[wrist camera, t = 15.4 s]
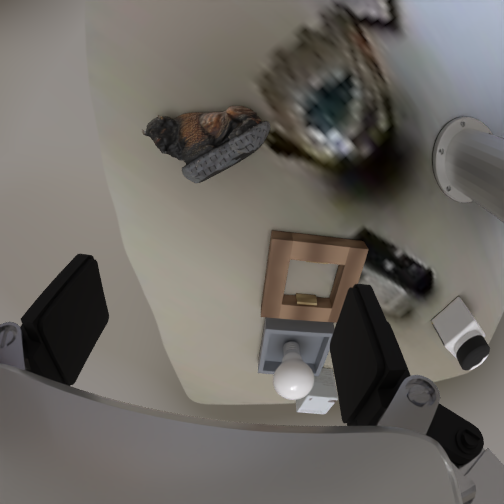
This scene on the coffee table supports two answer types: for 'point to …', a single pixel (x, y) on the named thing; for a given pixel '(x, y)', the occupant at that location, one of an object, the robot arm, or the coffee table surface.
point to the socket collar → (315, 251)
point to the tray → (300, 331)
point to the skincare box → (319, 394)
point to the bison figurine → (209, 139)
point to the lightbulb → (293, 374)
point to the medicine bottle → (461, 334)
